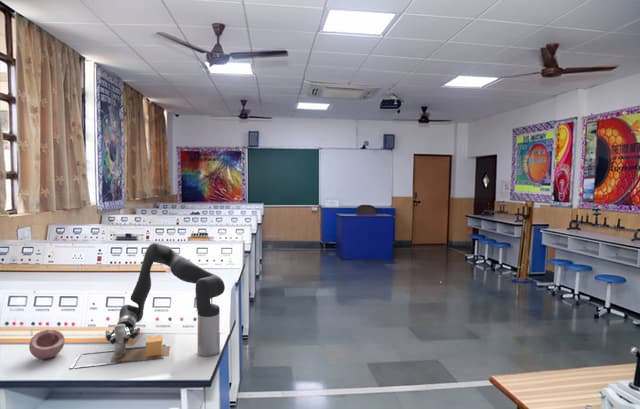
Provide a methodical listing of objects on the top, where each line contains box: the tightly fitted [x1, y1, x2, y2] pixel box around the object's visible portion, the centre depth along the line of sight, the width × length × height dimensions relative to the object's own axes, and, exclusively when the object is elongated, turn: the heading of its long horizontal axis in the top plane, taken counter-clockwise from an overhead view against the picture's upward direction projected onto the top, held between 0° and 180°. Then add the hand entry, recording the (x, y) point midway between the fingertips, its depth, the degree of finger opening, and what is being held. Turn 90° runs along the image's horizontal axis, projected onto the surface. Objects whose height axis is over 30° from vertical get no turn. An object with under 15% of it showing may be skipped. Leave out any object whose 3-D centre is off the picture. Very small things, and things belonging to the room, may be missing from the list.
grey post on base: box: [109, 324, 171, 363], centre depth 163 cm, size 22×10×14 cm, turn 108°
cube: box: [145, 334, 163, 356], centre depth 165 cm, size 6×6×6 cm
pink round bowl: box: [28, 329, 66, 360], centre depth 161 cm, size 12×12×11 cm
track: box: [68, 343, 167, 370], centre depth 161 cm, size 34×14×2 cm, turn 108°
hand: (119, 341), depth 158 cm, fingers closed on grey post on base, 4 cm apart
